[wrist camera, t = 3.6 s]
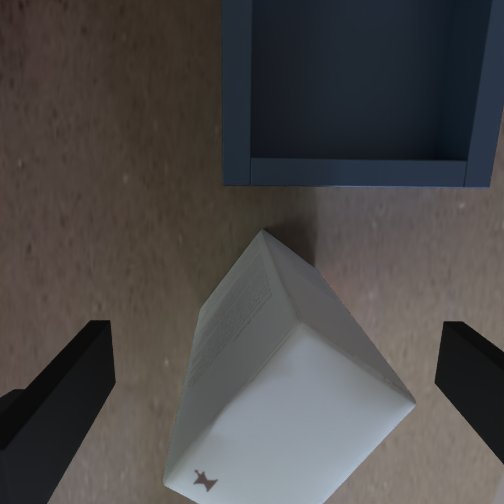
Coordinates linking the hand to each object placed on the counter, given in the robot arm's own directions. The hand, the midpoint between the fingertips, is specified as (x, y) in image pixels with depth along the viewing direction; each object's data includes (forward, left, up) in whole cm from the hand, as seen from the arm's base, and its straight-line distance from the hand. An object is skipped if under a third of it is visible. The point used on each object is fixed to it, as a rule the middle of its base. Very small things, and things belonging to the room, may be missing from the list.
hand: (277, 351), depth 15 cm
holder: (+4, +12, -7) cm, 14 cm away
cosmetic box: (0, 0, -7) cm, 7 cm away
